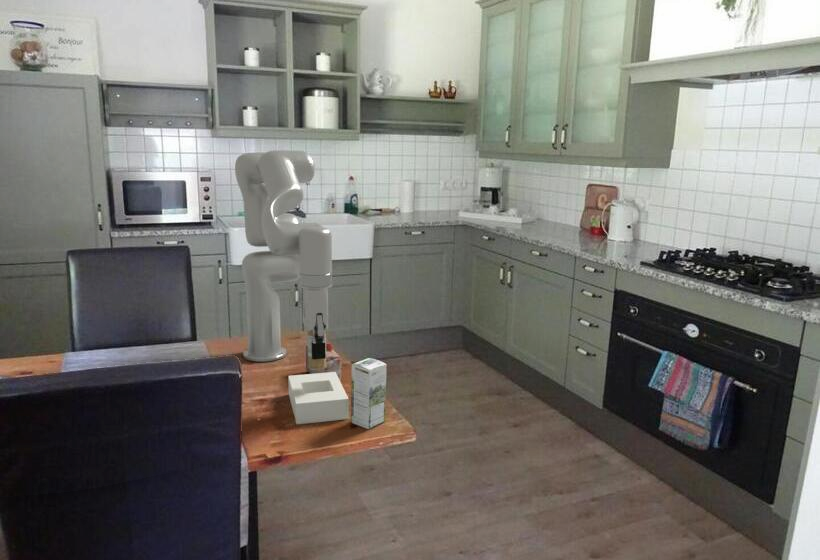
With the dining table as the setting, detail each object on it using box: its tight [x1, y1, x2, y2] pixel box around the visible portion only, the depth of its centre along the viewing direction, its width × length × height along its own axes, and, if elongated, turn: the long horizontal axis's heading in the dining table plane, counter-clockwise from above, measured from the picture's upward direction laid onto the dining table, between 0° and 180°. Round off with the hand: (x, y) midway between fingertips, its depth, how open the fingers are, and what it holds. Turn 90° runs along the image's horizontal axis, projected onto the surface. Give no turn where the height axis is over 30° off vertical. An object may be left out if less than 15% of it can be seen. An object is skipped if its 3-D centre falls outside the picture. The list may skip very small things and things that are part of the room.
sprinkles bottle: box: [306, 327, 327, 370], centre depth 146 cm, size 5×5×14 cm
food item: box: [305, 343, 343, 382], centre depth 167 cm, size 14×8×10 cm, turn 28°
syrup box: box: [350, 357, 388, 430], centre depth 140 cm, size 6×6×14 cm
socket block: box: [287, 372, 350, 425], centre depth 149 cm, size 18×12×5 cm, turn 16°
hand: (317, 354), depth 147 cm, fingers closed on sprinkles bottle, 4 cm apart
